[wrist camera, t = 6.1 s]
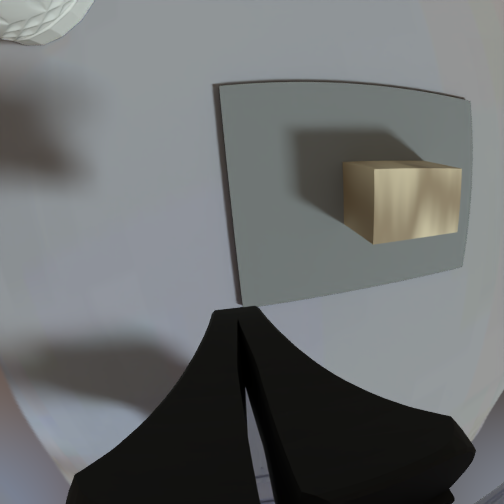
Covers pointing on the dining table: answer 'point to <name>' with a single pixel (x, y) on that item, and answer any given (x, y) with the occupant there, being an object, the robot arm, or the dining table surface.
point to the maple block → (401, 199)
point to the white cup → (39, 19)
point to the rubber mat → (331, 183)
